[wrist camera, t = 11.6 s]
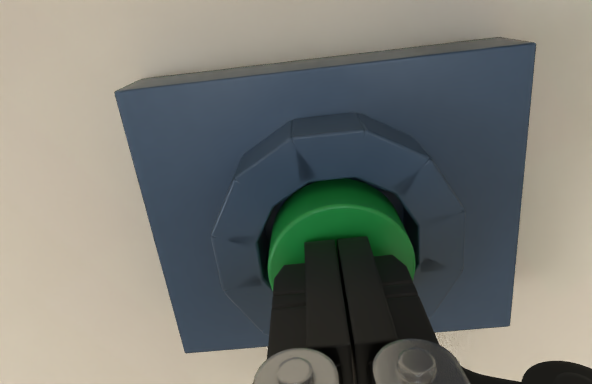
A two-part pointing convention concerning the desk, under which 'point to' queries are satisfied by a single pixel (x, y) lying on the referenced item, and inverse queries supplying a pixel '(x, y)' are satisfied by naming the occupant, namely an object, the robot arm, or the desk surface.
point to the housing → (335, 173)
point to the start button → (337, 223)
